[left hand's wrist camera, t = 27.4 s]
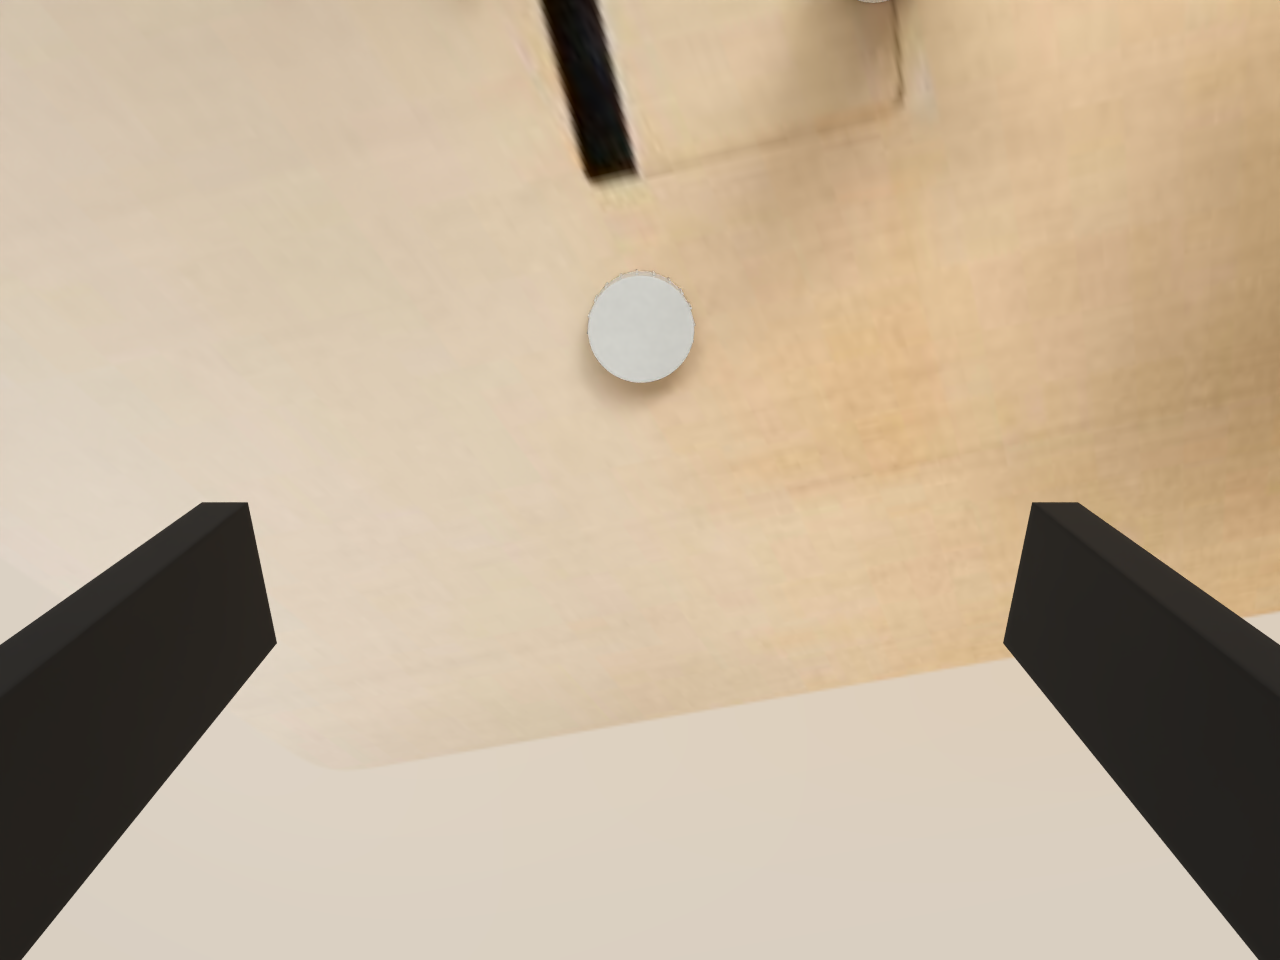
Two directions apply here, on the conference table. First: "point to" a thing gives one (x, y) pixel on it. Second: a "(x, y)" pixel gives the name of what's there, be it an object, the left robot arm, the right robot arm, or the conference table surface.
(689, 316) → the lid
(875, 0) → the white bottle
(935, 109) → the conference table surface
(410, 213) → the conference table surface
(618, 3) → the conference table surface
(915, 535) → the conference table surface
